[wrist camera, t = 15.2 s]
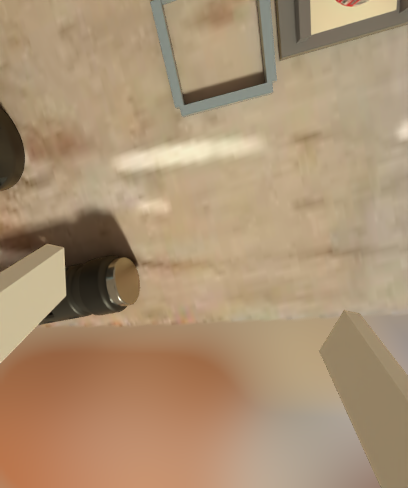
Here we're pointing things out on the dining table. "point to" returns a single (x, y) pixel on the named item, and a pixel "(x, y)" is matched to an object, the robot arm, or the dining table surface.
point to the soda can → (351, 2)
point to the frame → (228, 98)
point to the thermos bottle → (97, 289)
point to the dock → (332, 23)
